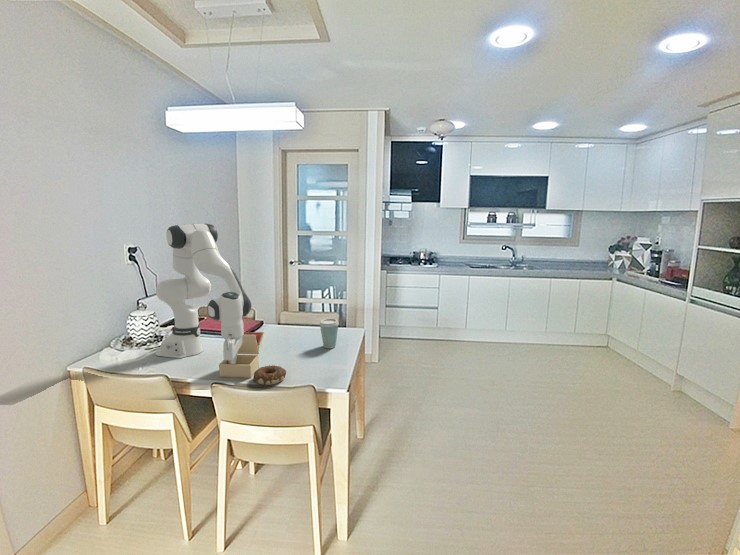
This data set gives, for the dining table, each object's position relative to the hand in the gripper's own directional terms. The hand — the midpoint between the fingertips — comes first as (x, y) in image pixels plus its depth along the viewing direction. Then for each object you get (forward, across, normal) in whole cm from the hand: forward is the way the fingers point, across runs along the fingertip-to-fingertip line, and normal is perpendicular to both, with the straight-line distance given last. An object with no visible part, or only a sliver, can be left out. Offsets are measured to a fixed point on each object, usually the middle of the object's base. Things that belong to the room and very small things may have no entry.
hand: (234, 362), depth 166 cm
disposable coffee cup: (+10, +43, -41) cm, 60 cm away
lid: (-2, +16, 0) cm, 16 cm away
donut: (+10, +3, -14) cm, 18 cm away
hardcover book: (+10, +50, +2) cm, 51 cm away
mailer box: (+10, +12, 0) cm, 16 cm away
